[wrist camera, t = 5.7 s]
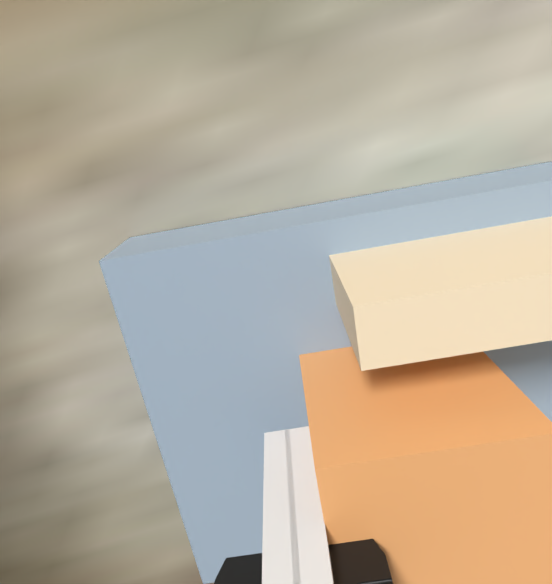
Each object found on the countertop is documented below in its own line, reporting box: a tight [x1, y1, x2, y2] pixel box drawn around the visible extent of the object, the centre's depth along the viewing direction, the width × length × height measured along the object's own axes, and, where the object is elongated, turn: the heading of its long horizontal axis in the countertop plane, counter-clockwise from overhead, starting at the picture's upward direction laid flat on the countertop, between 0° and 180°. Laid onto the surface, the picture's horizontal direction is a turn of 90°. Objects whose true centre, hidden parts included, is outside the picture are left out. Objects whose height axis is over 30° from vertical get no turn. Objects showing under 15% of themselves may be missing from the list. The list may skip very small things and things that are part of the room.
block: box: [299, 346, 552, 584], centre depth 12 cm, size 5×5×5 cm
